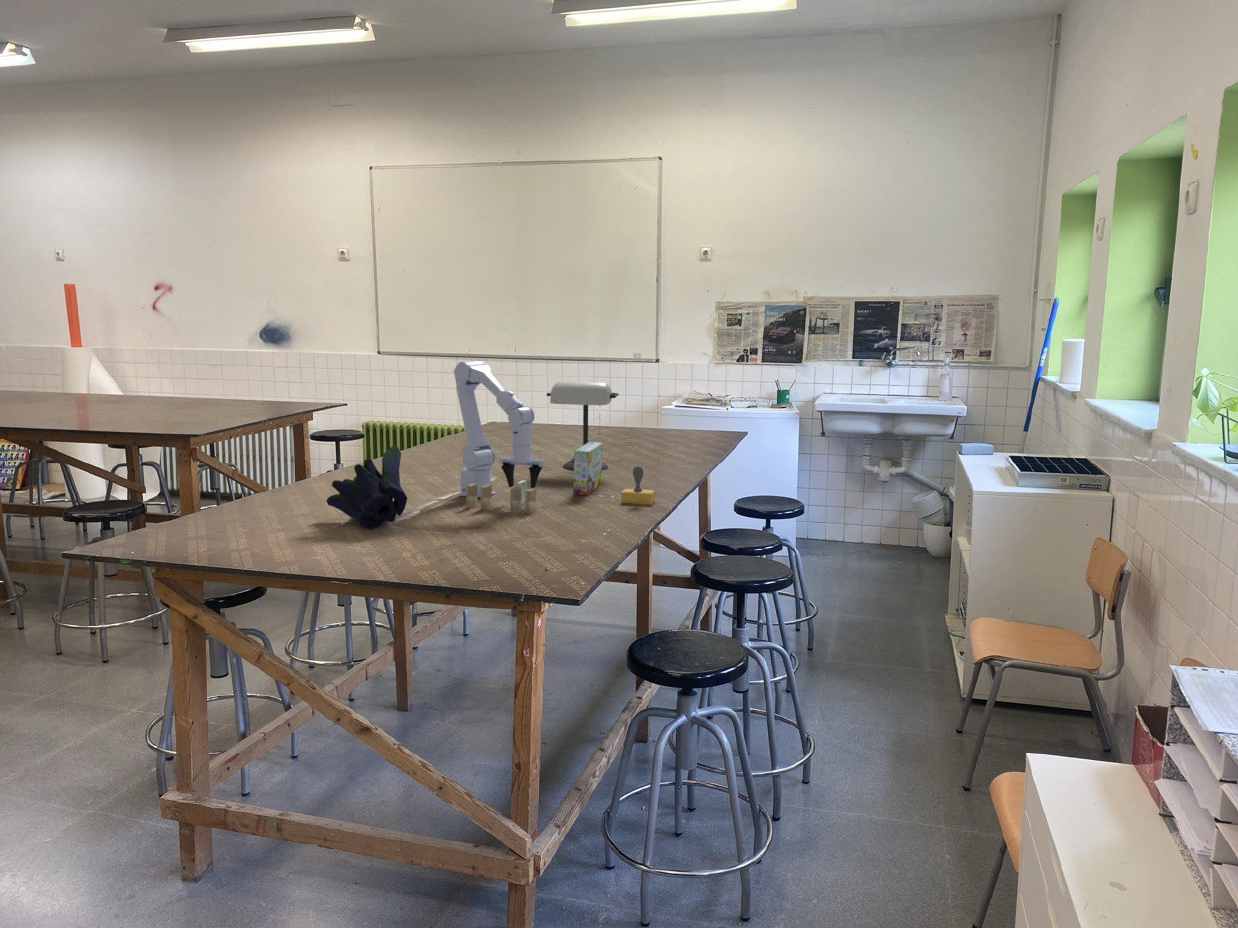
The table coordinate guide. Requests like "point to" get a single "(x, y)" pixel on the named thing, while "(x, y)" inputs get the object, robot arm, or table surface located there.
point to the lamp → (582, 402)
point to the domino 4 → (522, 490)
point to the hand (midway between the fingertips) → (522, 487)
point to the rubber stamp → (637, 491)
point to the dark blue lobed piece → (372, 492)
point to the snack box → (587, 468)
